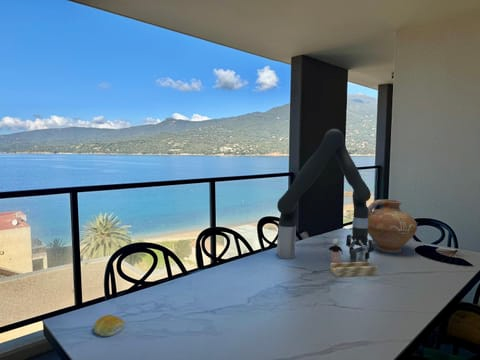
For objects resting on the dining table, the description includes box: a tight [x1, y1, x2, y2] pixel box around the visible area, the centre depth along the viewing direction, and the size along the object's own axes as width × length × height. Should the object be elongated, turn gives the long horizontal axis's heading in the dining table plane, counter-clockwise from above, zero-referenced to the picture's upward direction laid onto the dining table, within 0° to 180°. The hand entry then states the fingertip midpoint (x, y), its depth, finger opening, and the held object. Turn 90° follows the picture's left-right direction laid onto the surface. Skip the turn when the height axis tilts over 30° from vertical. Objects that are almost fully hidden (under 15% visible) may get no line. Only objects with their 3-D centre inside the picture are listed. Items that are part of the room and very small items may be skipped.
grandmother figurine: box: [327, 238, 344, 263], centre depth 164 cm, size 8×4×13 cm, turn 84°
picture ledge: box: [329, 261, 379, 278], centre depth 151 cm, size 20×8×4 cm, turn 98°
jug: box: [367, 199, 418, 254], centre depth 186 cm, size 28×28×30 cm
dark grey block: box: [349, 246, 369, 262], centre depth 164 cm, size 12×3×8 cm, turn 127°
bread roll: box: [93, 314, 125, 337], centre depth 101 cm, size 8×9×4 cm
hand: (359, 257), depth 164 cm, fingers open, 8 cm apart
